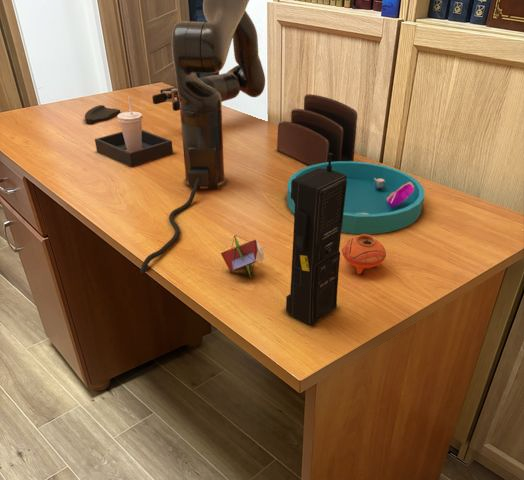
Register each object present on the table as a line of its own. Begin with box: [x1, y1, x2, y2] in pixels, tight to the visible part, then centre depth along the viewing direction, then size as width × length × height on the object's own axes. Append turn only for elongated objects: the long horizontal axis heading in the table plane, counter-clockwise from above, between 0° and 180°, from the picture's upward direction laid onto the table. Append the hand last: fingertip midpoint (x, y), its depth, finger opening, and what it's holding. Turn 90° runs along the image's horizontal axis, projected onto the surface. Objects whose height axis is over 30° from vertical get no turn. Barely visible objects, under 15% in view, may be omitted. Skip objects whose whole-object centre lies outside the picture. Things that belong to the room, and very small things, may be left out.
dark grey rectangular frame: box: [94, 129, 174, 168], centre depth 142 cm, size 16×14×3 cm
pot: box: [341, 234, 387, 275], centre depth 97 cm, size 8×8×7 cm
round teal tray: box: [286, 160, 425, 235], centre depth 118 cm, size 30×30×6 cm
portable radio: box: [285, 153, 347, 326], centre depth 79 cm, size 8×6×25 cm
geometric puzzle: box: [220, 234, 265, 278], centre depth 95 cm, size 7×7×8 cm
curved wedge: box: [84, 104, 121, 125], centre depth 166 cm, size 8×14×2 cm, turn 158°
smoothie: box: [116, 96, 144, 152], centre depth 139 cm, size 6×6×14 cm
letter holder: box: [276, 93, 358, 166], centre depth 137 cm, size 10×20×14 cm, turn 37°
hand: (163, 103), depth 143 cm, fingers open, 8 cm apart
